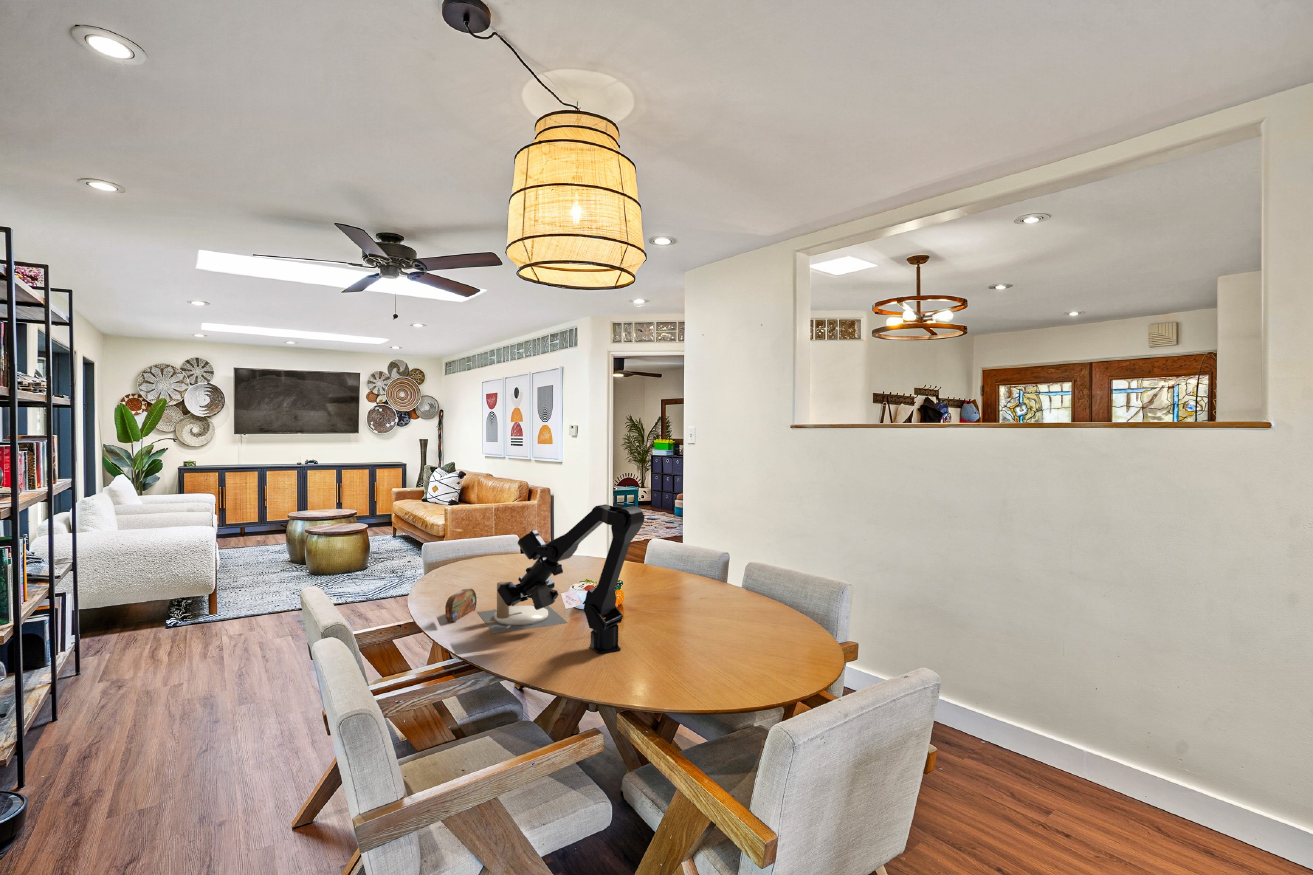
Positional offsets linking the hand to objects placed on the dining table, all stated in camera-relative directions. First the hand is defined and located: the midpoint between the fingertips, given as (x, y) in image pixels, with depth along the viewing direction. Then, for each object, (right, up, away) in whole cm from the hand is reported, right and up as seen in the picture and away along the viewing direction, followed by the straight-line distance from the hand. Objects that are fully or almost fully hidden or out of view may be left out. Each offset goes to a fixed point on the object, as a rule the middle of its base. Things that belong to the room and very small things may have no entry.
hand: (512, 604), depth 186 cm
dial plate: (+1, -6, +6) cm, 9 cm away
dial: (+1, -5, +6) cm, 8 cm away
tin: (-17, -6, +7) cm, 20 cm away
